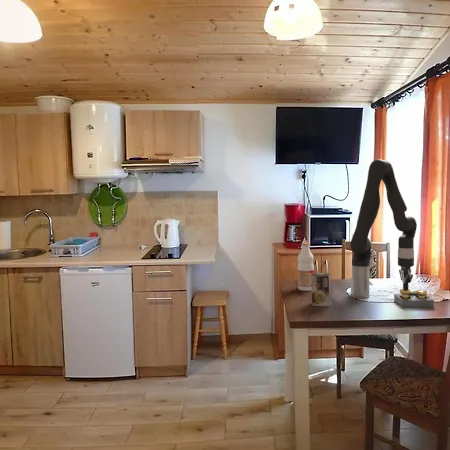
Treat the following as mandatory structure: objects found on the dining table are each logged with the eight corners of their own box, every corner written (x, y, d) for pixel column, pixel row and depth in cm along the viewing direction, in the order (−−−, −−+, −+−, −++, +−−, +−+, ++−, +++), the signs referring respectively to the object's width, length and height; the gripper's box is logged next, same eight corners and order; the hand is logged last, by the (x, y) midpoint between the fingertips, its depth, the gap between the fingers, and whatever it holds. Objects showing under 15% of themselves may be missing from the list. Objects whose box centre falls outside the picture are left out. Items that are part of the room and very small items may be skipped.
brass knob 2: (418, 305, 203) (418, 292, 203) (414, 302, 208) (414, 290, 207) (428, 305, 203) (428, 292, 202) (424, 302, 208) (424, 289, 207)
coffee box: (330, 303, 213) (330, 273, 211) (329, 306, 207) (329, 276, 205) (313, 302, 216) (312, 272, 214) (311, 305, 210) (311, 275, 208)
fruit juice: (295, 287, 245) (294, 242, 242) (310, 286, 247) (309, 241, 244) (302, 291, 236) (301, 244, 233) (316, 290, 238) (316, 243, 235)
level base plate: (402, 308, 200) (402, 297, 200) (394, 301, 212) (394, 290, 212) (433, 308, 199) (433, 296, 199) (423, 300, 211) (423, 290, 211)
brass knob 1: (401, 304, 204) (402, 291, 203) (398, 301, 209) (398, 288, 208) (412, 304, 203) (412, 291, 203) (408, 301, 208) (408, 288, 208)
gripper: (393, 254, 210) (393, 286, 212) (403, 259, 197) (402, 293, 199) (408, 253, 210) (408, 286, 212) (418, 258, 197) (418, 293, 199)
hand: (405, 289), depth 205 cm, fingers closed
